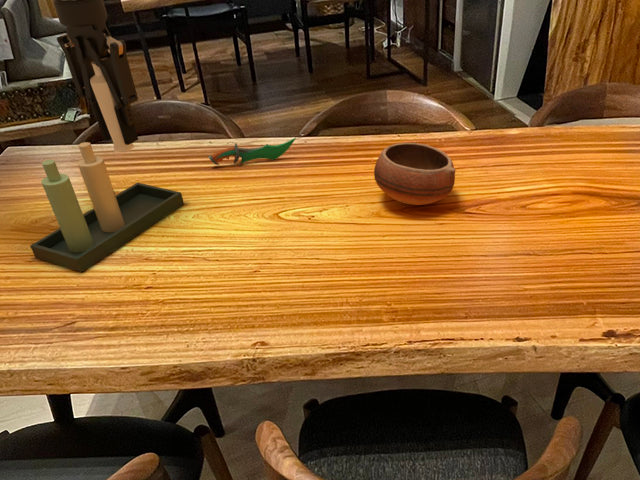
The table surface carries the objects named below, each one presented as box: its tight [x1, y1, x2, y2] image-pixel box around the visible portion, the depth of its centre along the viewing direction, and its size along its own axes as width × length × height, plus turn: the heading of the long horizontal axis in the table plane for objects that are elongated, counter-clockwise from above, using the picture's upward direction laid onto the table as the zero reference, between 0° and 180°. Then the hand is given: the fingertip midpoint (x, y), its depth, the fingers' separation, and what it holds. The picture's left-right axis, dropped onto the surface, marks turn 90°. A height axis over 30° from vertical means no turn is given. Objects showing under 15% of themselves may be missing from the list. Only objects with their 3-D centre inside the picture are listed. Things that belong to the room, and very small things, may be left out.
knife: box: [208, 137, 297, 166], centre depth 139 cm, size 20×2×5 cm, turn 104°
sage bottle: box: [40, 159, 94, 253], centre depth 108 cm, size 4×4×16 cm
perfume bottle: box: [90, 61, 135, 154], centre depth 111 cm, size 5×4×15 cm
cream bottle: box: [76, 141, 125, 232], centre depth 114 cm, size 4×4×16 cm
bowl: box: [373, 142, 457, 206], centre depth 122 cm, size 16×16×10 cm
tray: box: [29, 182, 185, 273], centre depth 119 cm, size 12×28×3 cm, turn 153°
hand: (121, 139), depth 115 cm, fingers closed on perfume bottle, 5 cm apart
